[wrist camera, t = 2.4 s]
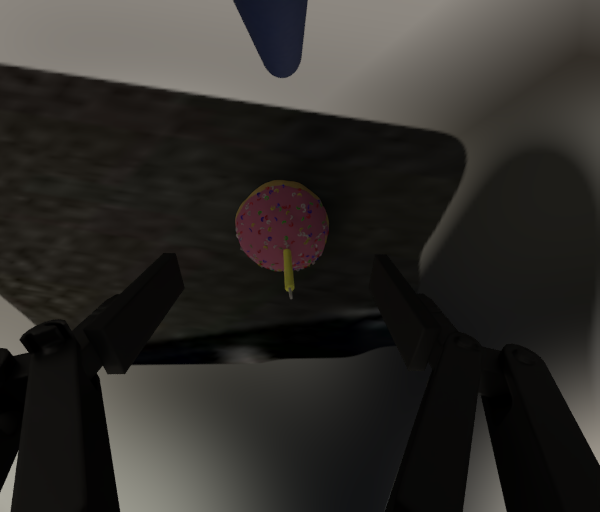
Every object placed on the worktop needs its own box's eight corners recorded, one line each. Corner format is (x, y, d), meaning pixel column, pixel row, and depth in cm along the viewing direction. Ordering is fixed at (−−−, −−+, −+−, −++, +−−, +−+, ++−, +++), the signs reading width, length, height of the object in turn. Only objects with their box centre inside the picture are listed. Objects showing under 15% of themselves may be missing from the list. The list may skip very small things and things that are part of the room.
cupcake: (334, 232, 27) (361, 300, 16) (267, 259, 28) (252, 338, 18) (305, 158, 23) (314, 184, 12) (229, 193, 24) (180, 244, 14)
